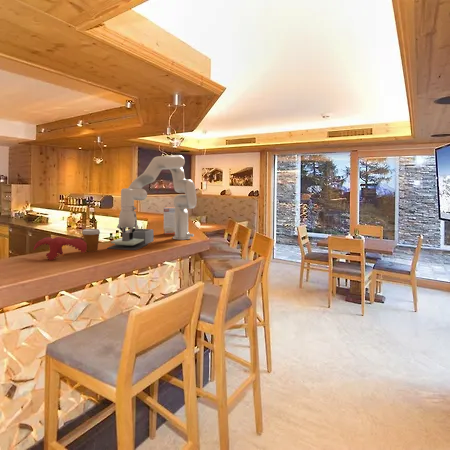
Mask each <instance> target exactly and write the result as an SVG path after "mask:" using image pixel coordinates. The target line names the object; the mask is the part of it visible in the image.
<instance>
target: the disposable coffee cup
mask: <svg viewBox="0 0 450 450" xmlns="http://www.w3.org/2000/svg"><path fill="white" fill-rule="evenodd" d="M81 233H82V237H83V241H85V242H86V244H87V249H86V251H85V252H88V253H93V252H94V251H95V252H97V251H99V250H98V249H99V239H100V235H101V234H100V233H101V232H100V229H98V228H86V229H83V230H82V232H81Z"/></svg>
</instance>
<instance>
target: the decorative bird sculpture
mask: <svg viewBox="0 0 450 450" xmlns="http://www.w3.org/2000/svg"><path fill="white" fill-rule="evenodd" d="M44 245H46V246H47V245H48V247H49V250H50V251H48V252H47V253H46V254H45V256H46V258H47V260H50V261H53V260H54V261H55V259H56V257H59V255H62V257H64V256H65V254H64V253H63V246H68V247H72V248H74V249H75V250H78V251H80V253H81V254H82V253H86V252H87V251H86V249H87V244H86V242H85V241H84V239H81V238H79V237H77V238H67V237H62V236H56V237H53V238H52V237H51V236H47V237H44V238H42V239H40V240H38V241H36V243H35V244H34V247H33V249H32V250H33V251H35V250H36V249H37V248H38V247H40V246H44Z"/></svg>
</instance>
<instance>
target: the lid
mask: <svg viewBox="0 0 450 450" xmlns="http://www.w3.org/2000/svg"><path fill="white" fill-rule="evenodd" d="M126 231H127V230H126ZM129 233H130V231H127V232H121V237H120V238H117V239H114V240H111V241H110V244H114V245H132V246H133V245H135V244H138V243H140V242H142V241H144V239H135V238H133V239H130V237H129Z"/></svg>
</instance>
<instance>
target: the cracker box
mask: <svg viewBox="0 0 450 450" xmlns="http://www.w3.org/2000/svg"><path fill="white" fill-rule="evenodd" d="M163 235H174V236H175V207H174V206H172V207H170V206H169V207H168V206H166V207H163Z"/></svg>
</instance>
